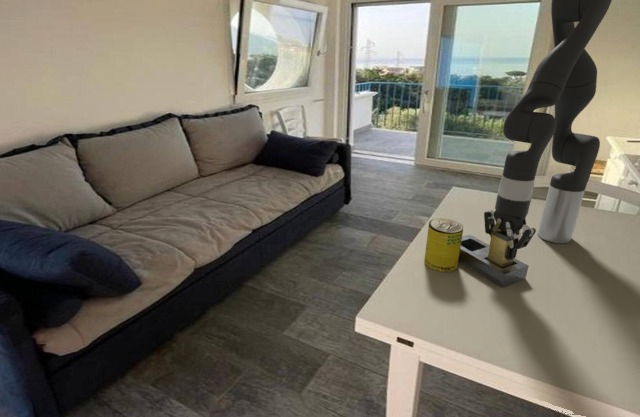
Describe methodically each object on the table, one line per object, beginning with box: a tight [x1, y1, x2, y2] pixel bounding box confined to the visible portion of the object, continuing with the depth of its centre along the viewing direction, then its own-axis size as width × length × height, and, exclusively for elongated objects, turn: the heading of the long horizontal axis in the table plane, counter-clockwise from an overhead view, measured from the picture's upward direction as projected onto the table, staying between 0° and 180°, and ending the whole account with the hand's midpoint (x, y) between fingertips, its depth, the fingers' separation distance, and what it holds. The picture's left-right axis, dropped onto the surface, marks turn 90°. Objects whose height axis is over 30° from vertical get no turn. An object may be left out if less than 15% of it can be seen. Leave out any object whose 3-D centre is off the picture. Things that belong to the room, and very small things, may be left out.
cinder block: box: [458, 234, 529, 288], centre depth 105 cm, size 9×20×4 cm, turn 26°
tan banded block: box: [487, 229, 516, 268], centre depth 99 cm, size 5×5×9 cm
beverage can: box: [423, 217, 464, 273], centre depth 105 cm, size 9×9×12 cm
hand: (501, 254), depth 100 cm, fingers closed on tan banded block, 4 cm apart
